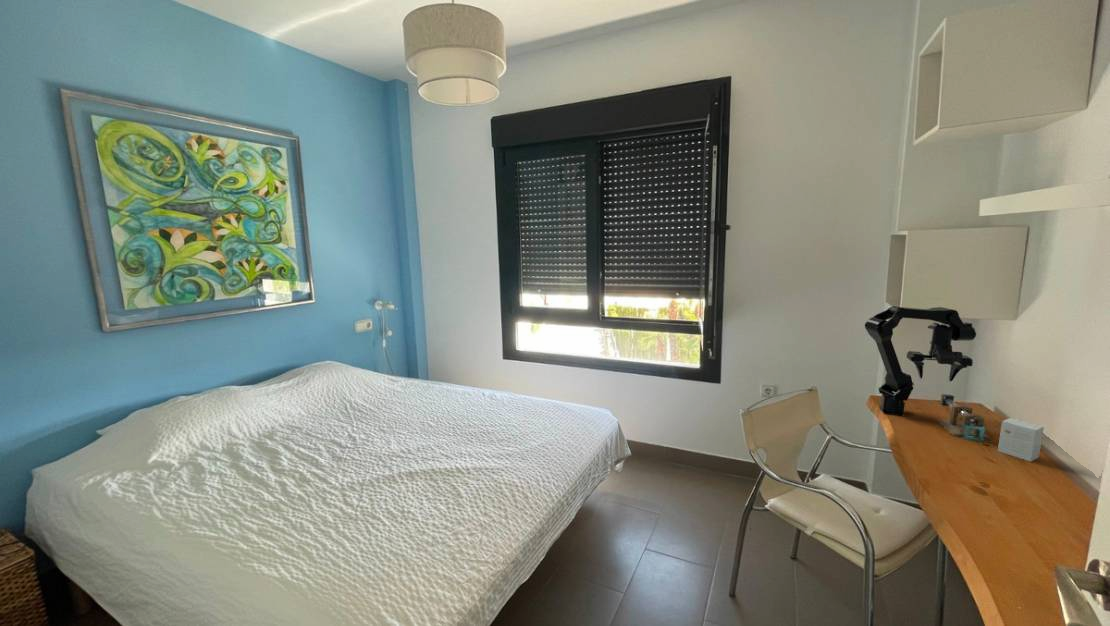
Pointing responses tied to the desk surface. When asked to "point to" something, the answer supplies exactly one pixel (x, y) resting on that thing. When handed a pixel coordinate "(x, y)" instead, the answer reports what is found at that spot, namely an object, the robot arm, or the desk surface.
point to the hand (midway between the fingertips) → (935, 379)
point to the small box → (1020, 439)
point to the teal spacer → (979, 438)
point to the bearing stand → (962, 422)
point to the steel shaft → (948, 401)
